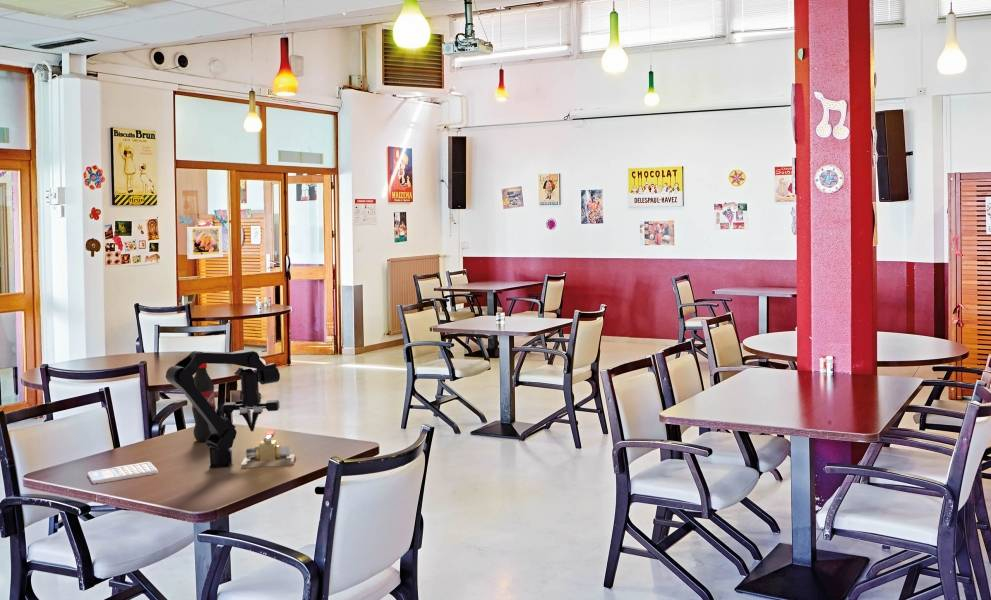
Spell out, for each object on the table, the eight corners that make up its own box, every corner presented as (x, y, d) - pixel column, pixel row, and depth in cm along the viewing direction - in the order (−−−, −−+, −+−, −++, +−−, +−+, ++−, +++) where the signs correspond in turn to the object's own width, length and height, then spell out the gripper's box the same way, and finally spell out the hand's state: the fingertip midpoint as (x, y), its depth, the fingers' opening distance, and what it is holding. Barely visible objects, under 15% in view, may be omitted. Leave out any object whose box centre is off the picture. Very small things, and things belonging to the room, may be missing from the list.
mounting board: (241, 468, 304) (240, 464, 304) (245, 460, 313) (244, 457, 313) (293, 464, 306) (293, 461, 306) (295, 457, 315) (295, 454, 315)
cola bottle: (199, 444, 339) (193, 364, 336) (190, 440, 345) (185, 361, 342) (221, 439, 344) (216, 361, 341) (212, 436, 351) (207, 358, 348)
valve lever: (271, 442, 308) (270, 438, 307) (263, 442, 307) (263, 439, 307) (275, 433, 320) (275, 430, 320) (267, 433, 320) (267, 430, 320)
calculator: (158, 474, 301) (158, 469, 301) (93, 485, 291) (92, 479, 291) (150, 465, 313) (150, 460, 313) (87, 476, 303) (86, 470, 302)
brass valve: (246, 462, 306) (245, 445, 305) (248, 458, 311) (247, 441, 310) (289, 459, 308) (288, 442, 307) (290, 455, 313) (289, 439, 312)
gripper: (280, 381, 324) (282, 424, 325) (226, 383, 322) (228, 427, 323) (276, 386, 313) (278, 431, 314) (220, 389, 311) (223, 434, 312)
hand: (252, 431), depth 316 cm, fingers closed
